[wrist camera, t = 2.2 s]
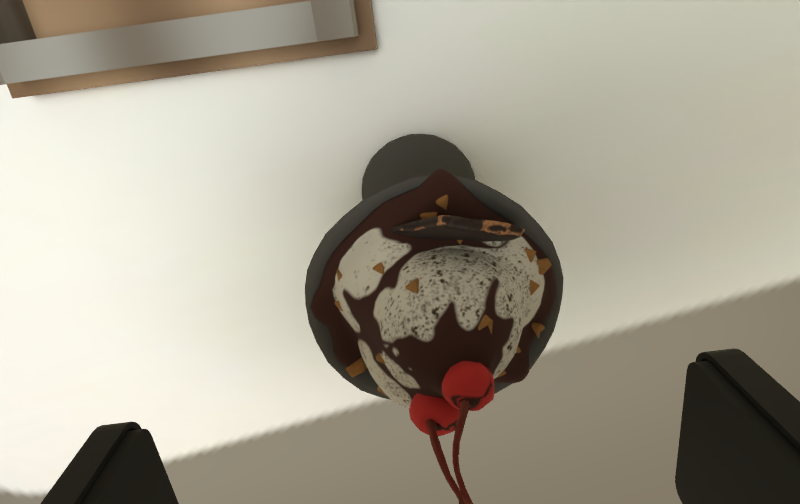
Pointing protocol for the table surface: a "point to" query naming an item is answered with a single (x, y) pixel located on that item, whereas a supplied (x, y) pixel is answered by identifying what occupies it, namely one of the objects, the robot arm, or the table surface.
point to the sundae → (433, 289)
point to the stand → (166, 38)
